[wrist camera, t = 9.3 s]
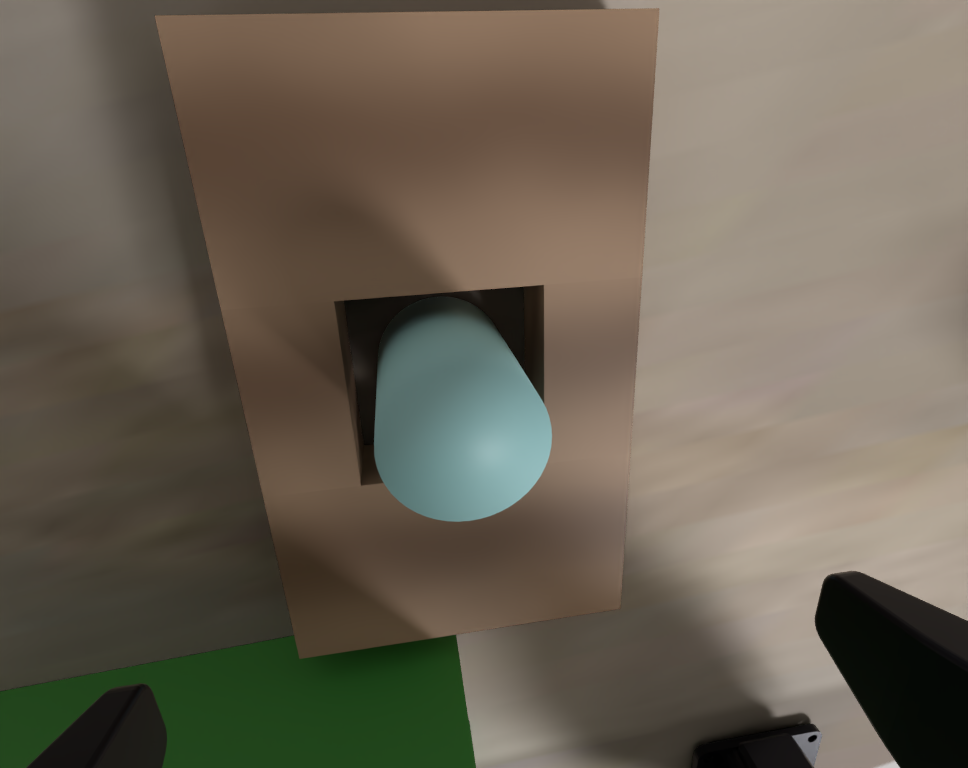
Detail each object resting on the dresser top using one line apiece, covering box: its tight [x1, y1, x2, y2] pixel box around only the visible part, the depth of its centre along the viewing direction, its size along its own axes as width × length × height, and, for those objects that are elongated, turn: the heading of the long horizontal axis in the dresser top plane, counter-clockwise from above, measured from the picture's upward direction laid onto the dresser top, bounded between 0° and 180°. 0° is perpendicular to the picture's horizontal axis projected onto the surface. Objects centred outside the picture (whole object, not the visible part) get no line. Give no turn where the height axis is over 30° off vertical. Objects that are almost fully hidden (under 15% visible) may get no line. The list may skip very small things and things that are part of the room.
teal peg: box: [374, 297, 552, 522], centre depth 15 cm, size 4×4×6 cm
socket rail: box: [155, 8, 659, 659], centre depth 17 cm, size 18×11×2 cm, turn 2°
